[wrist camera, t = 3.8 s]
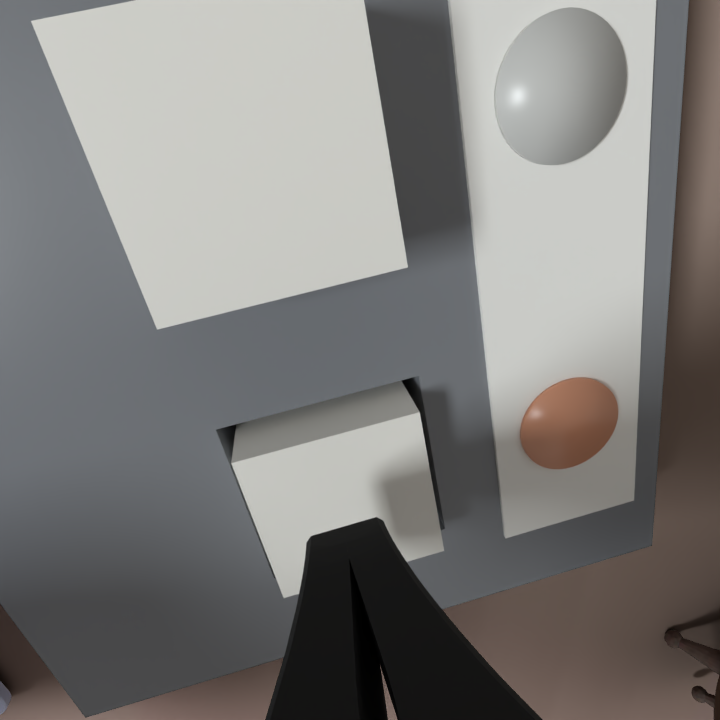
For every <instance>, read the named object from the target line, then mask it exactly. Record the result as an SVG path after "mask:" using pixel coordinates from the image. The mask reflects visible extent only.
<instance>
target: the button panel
mask: <svg viewBox="0 0 720 720" xmlns="http://www.w3.org/2000/svg"><path fill="white" fill-rule="evenodd" d="M129 1H134V0H0V604H1V605H2V607H3V608H4V609H5V611H6V612H7V613H8V615H9V616H10V617H11V619H12V620H13V621H14V623H15V624H16V625H17V627H18V628H19V629H20V631H21V632H22V633H23V635H24V636H25V637H26V639H27V640H28V642H29V643H30V644H31V646H32V647H33V648H34V650H35V651H36V652H37V654H38V655H39V656H40V658H41V659H42V660H43V662H44V663H45V664H46V666H47V667H48V668H49V670H50V671H51V672H52V674H53V675H54V676H55V678H56V679H57V680H58V682H59V683H60V684H61V686H62V687H63V688H64V690H65V691H66V692H67V694H68V695H69V696H70V698H71V699H72V700H73V702H74V703H75V704H76V706H77V707H78V708H79V710H80V711H81V712H82V714H83V715H84V716H85V718H86V717H89V716H92V715H96V714H99V713H102V712H106V711H109V710H112V709H116V708H119V707H122V706H125V705H129V704H132V703H135V702H139V701H142V700H145V699H148V698H152V697H155V696H158V695H162V694H165V693H168V692H171V691H175V690H178V689H181V688H185V687H188V686H191V685H195V684H198V683H201V682H204V681H208V680H211V679H214V678H218V677H221V676H224V675H227V674H231V673H234V672H237V671H241V670H244V669H247V668H251V667H254V666H257V665H260V664H264V663H267V662H270V661H274V660H277V659H280V658H283V657H284V655H285V651H286V647H287V643H288V639H289V635H290V631H291V627H292V623H293V619H294V615H295V611H296V606H297V601H298V596H299V594H296V595H293V596H290V597H286V598H283V595H282V593H281V590H280V587H279V585H278V582H277V580H276V577H275V575H274V572H273V569H272V567H271V564H270V562H269V559H268V557H267V554H266V551H265V549H264V546H263V544H262V541H261V539H260V536H259V533H258V531H257V528H256V526H255V523H254V521H253V518H252V515H251V513H250V510H249V508H248V505H247V503H246V500H245V497H244V495H243V492H242V490H241V487H240V485H239V482H238V479H237V477H236V474H235V472H234V469H233V467H232V464H231V461H232V453H233V446H234V438H235V430H236V424H239V423H243V422H247V421H251V420H254V419H258V418H262V417H266V416H269V415H273V414H277V413H281V412H284V411H288V410H292V409H296V408H299V407H303V406H307V405H311V404H314V403H318V402H322V401H326V400H330V399H333V398H337V397H341V396H345V395H348V394H352V393H356V392H360V391H363V390H367V389H371V388H375V387H378V386H382V385H386V384H390V383H394V382H397V381H402V383H403V384H404V386H405V388H406V389H407V391H408V393H409V395H410V396H411V398H412V400H413V401H414V403H415V405H416V407H417V408H418V410H419V412H420V417H421V422H422V428H423V434H424V439H425V445H426V450H427V456H428V462H429V467H430V473H431V479H432V484H433V490H434V496H435V501H436V507H437V513H438V518H439V524H440V530H441V535H442V541H443V546H444V551H442V552H439V553H435V554H432V555H429V556H425V557H422V558H419V559H415V560H412V561H408V562H407V563H408V565H409V566H410V567H411V569H412V570H413V572H414V573H415V575H416V576H417V577H418V579H419V580H420V582H421V583H422V584H423V586H424V587H425V588H426V590H427V591H428V592H429V593H430V595H431V596H432V597H433V599H434V600H435V601H436V602H437V604H438V605H439V606H440V607H441V609H445V608H448V607H451V606H455V605H458V604H461V603H465V602H468V601H471V600H474V599H478V598H481V597H484V596H488V595H491V594H494V593H497V592H501V591H504V590H507V589H511V588H514V587H517V586H520V585H524V584H527V583H530V582H534V581H537V580H540V579H544V578H547V577H550V576H553V575H557V574H560V573H563V572H567V571H570V570H573V569H576V568H580V567H583V566H586V565H590V564H593V563H596V562H599V561H603V560H606V559H609V558H613V557H616V556H619V555H623V554H626V553H629V552H632V551H636V550H639V549H642V548H646V547H649V546H652V538H653V523H654V509H655V494H656V479H657V464H658V450H659V435H660V420H661V405H662V390H663V376H664V361H665V346H666V331H667V317H668V302H669V287H670V272H671V258H672V243H673V228H674V213H675V199H676V184H677V169H678V154H679V140H680V125H681V110H682V95H683V81H684V66H685V51H686V36H687V22H688V7H689V0H364V4H365V10H366V16H367V22H368V28H369V34H370V40H371V46H372V52H373V58H374V64H375V70H376V76H377V82H378V88H379V95H380V101H381V107H382V113H383V119H384V125H385V131H386V137H387V143H388V149H389V155H390V161H391V167H392V173H393V179H394V186H395V192H396V198H397V204H398V210H399V216H400V222H401V228H402V234H403V240H404V246H405V252H406V258H407V264H408V268H404V269H400V270H396V271H391V272H387V273H383V274H379V275H375V276H371V277H367V278H363V279H359V280H355V281H351V282H347V283H343V284H339V285H335V286H331V287H327V288H323V289H319V290H315V291H311V292H307V293H303V294H299V295H295V296H291V297H287V298H283V299H279V300H275V301H271V302H267V303H263V304H259V305H254V306H250V307H246V308H242V309H238V310H234V311H230V312H226V313H222V314H218V315H214V316H210V317H206V318H202V319H198V320H194V321H190V322H186V323H182V324H178V325H174V326H170V327H166V328H162V329H158V330H157V328H156V326H155V323H154V321H153V318H152V316H151V313H150V311H149V308H148V306H147V304H146V301H145V299H144V296H143V294H142V291H141V289H140V286H139V284H138V282H137V279H136V277H135V274H134V272H133V269H132V267H131V264H130V262H129V260H128V257H127V255H126V252H125V250H124V247H123V245H122V242H121V240H120V238H119V235H118V233H117V230H116V228H115V225H114V223H113V221H112V218H111V216H110V213H109V211H108V208H107V206H106V203H105V201H104V199H103V196H102V194H101V191H100V189H99V186H98V184H97V181H96V179H95V177H94V174H93V172H92V169H91V167H90V164H89V162H88V159H87V157H86V155H85V152H84V150H83V147H82V145H81V142H80V140H79V137H78V135H77V133H76V130H75V128H74V125H73V123H72V120H71V118H70V115H69V113H68V111H67V108H66V106H65V103H64V101H63V98H62V96H61V93H60V91H59V89H58V86H57V84H56V81H55V79H54V76H53V74H52V71H51V69H50V67H49V64H48V62H47V59H46V57H45V54H44V52H43V49H42V47H41V45H40V42H39V40H38V37H37V35H36V32H35V30H34V28H33V25H32V23H31V21H33V20H38V19H43V18H48V17H53V16H58V15H63V14H68V13H73V12H79V11H84V10H89V9H94V8H99V7H104V6H109V5H114V4H119V3H124V2H129Z"/></svg>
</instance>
